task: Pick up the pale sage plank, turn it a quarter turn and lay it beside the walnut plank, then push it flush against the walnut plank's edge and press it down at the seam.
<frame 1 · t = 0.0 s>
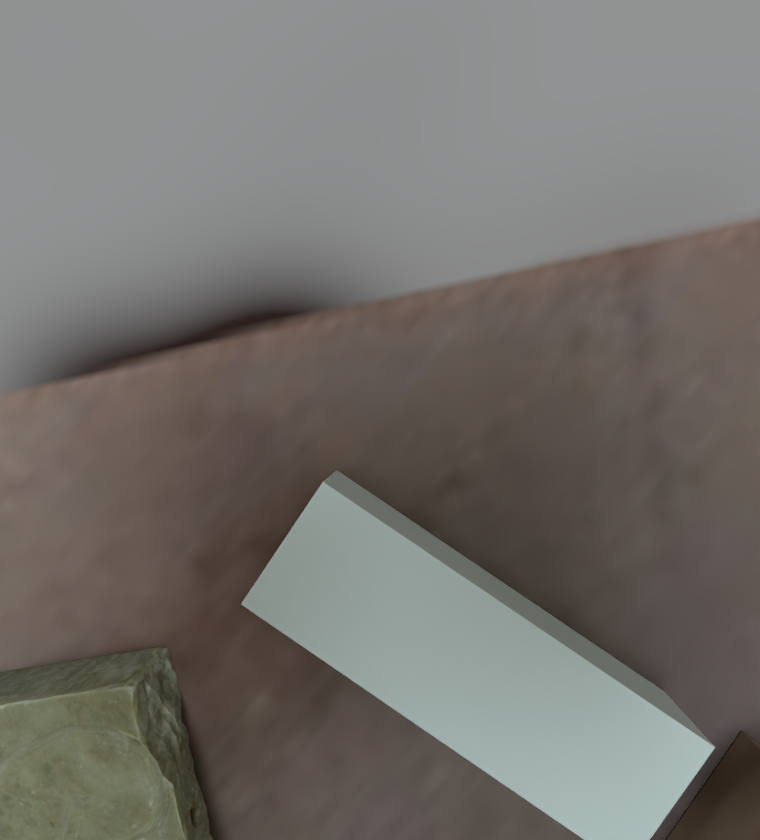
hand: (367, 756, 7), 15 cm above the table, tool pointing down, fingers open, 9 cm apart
sage plank: (462, 628, 23), on the table
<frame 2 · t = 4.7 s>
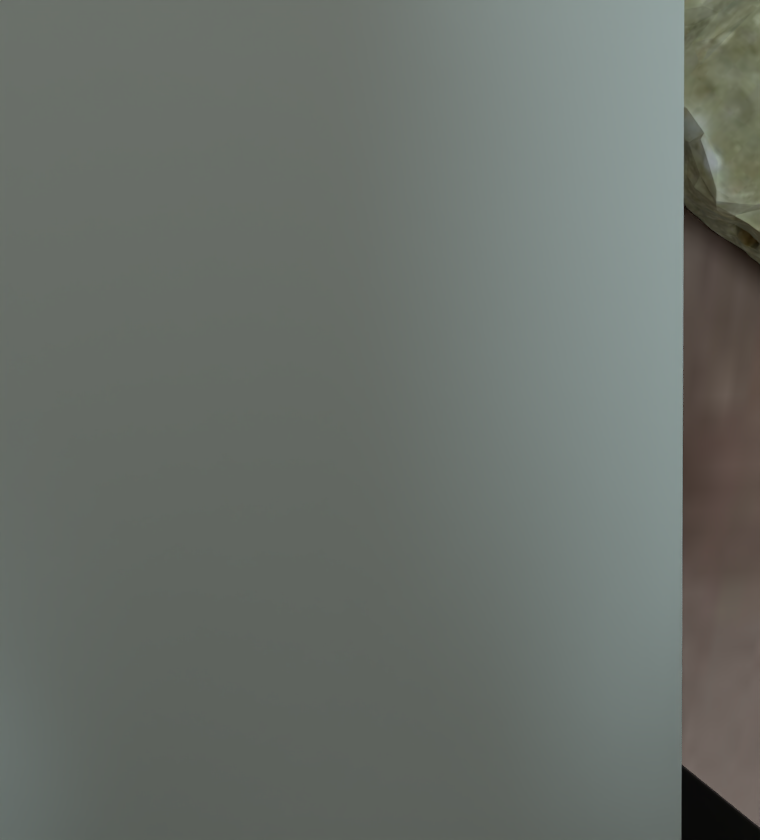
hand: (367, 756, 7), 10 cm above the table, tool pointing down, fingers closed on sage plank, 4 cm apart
sage plank: (369, 683, 8), point 9 cm above the table, touching gripper
when the fingers open (2 cm above the table, at t = 6.4 s): sage plank drops 2 cm, on the table.
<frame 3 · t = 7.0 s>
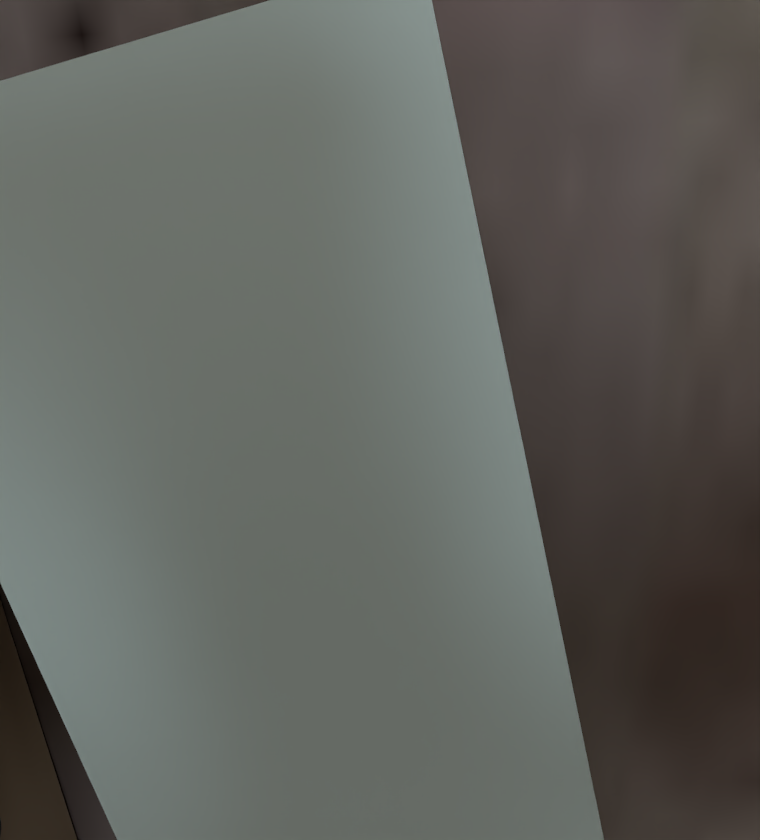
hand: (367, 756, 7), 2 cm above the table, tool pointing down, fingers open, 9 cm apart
sage plank: (371, 613, 10), on the table
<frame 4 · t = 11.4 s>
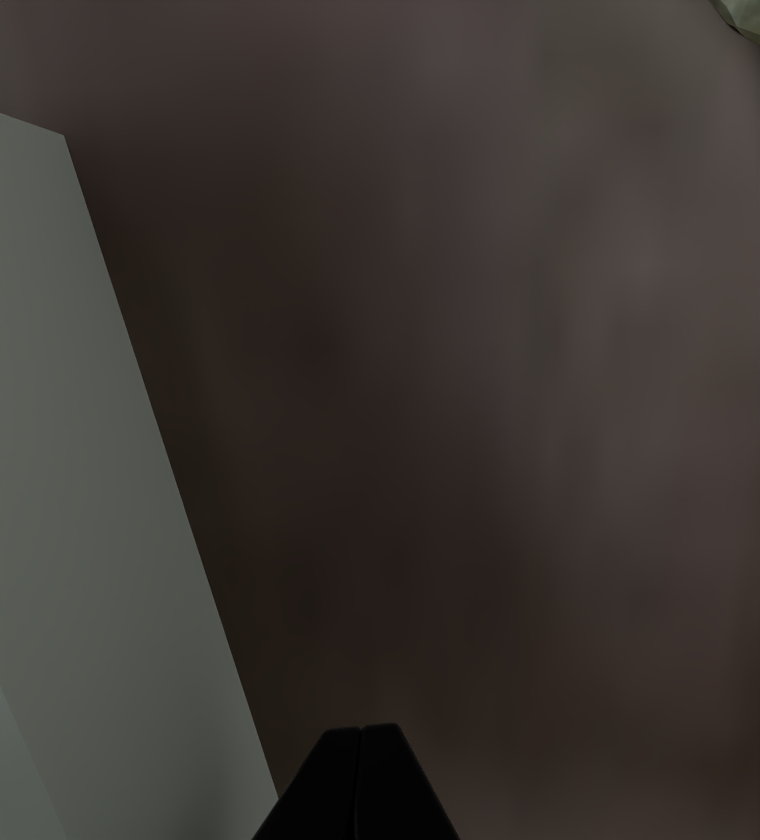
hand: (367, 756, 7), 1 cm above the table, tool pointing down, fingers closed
sage plank: (97, 703, 9), on the table, touching gripper
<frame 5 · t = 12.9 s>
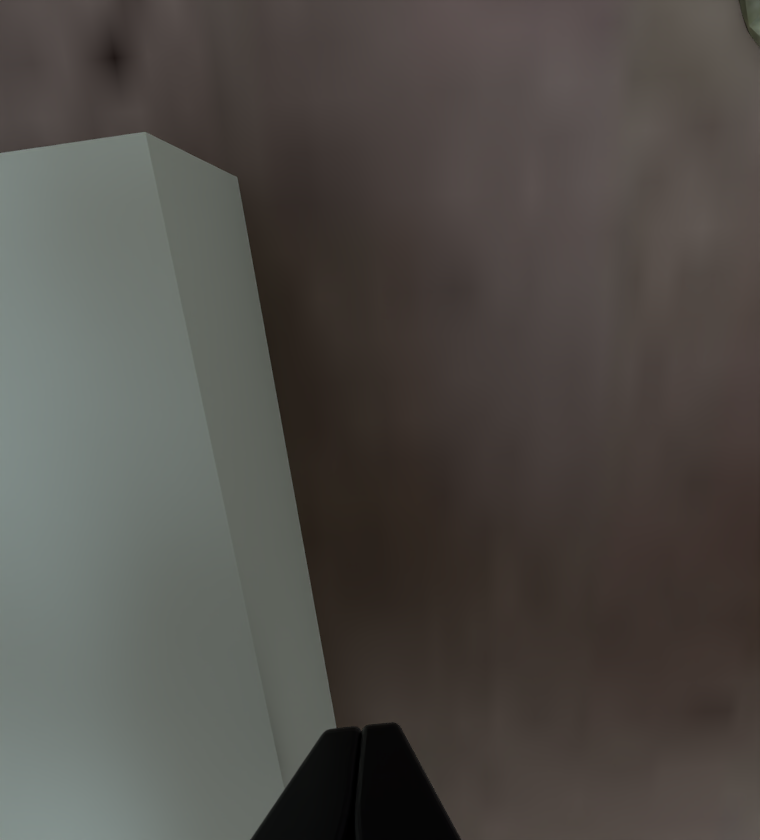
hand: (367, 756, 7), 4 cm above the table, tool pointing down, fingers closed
sage plank: (192, 604, 11), on the table
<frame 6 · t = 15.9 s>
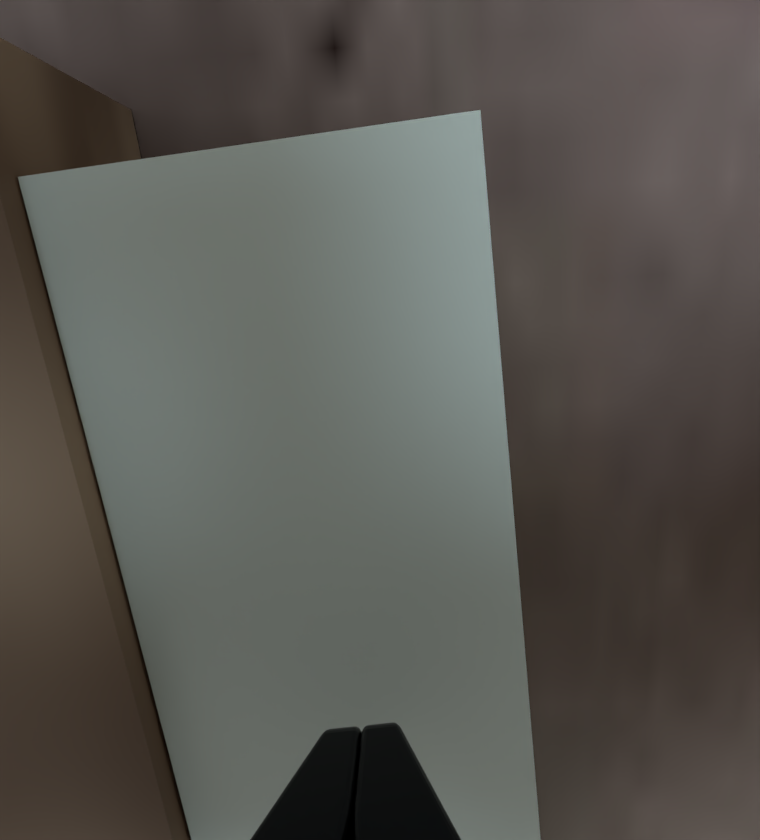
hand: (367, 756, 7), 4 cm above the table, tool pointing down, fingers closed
sage plank: (362, 583, 12), on the table
walnut plank: (70, 609, 12), on the table
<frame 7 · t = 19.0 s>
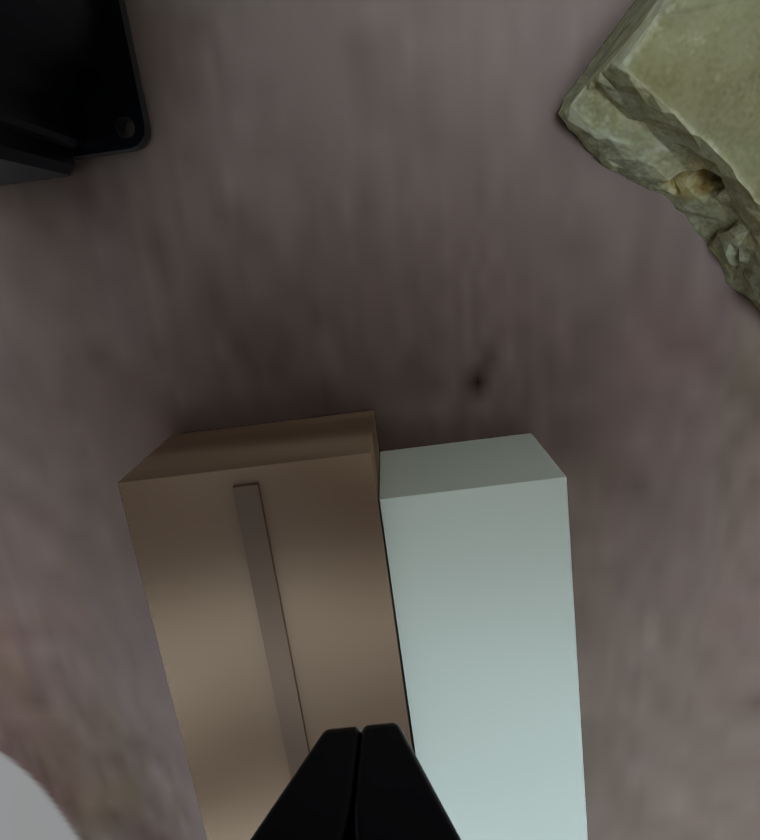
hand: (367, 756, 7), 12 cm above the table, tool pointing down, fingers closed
sage plank: (475, 640, 21), on the table
walnut plank: (314, 656, 21), on the table
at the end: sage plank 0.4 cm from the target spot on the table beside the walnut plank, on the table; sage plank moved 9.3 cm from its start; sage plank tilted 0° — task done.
